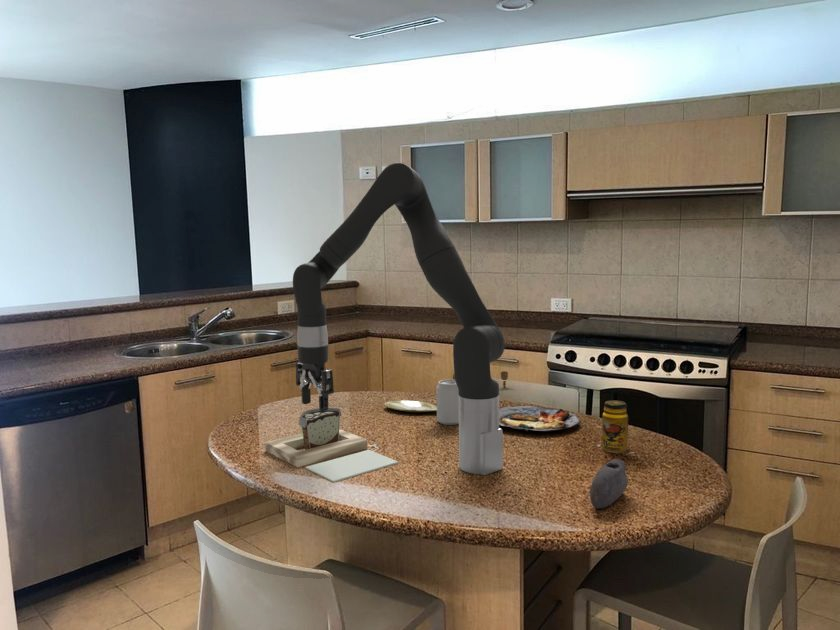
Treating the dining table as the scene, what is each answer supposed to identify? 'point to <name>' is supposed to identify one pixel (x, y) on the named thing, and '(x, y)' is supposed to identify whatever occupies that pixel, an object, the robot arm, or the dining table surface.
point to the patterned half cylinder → (320, 427)
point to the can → (447, 402)
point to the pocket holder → (288, 446)
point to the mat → (351, 465)
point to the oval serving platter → (411, 406)
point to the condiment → (615, 427)
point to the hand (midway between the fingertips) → (314, 406)
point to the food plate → (545, 421)
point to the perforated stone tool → (608, 484)
